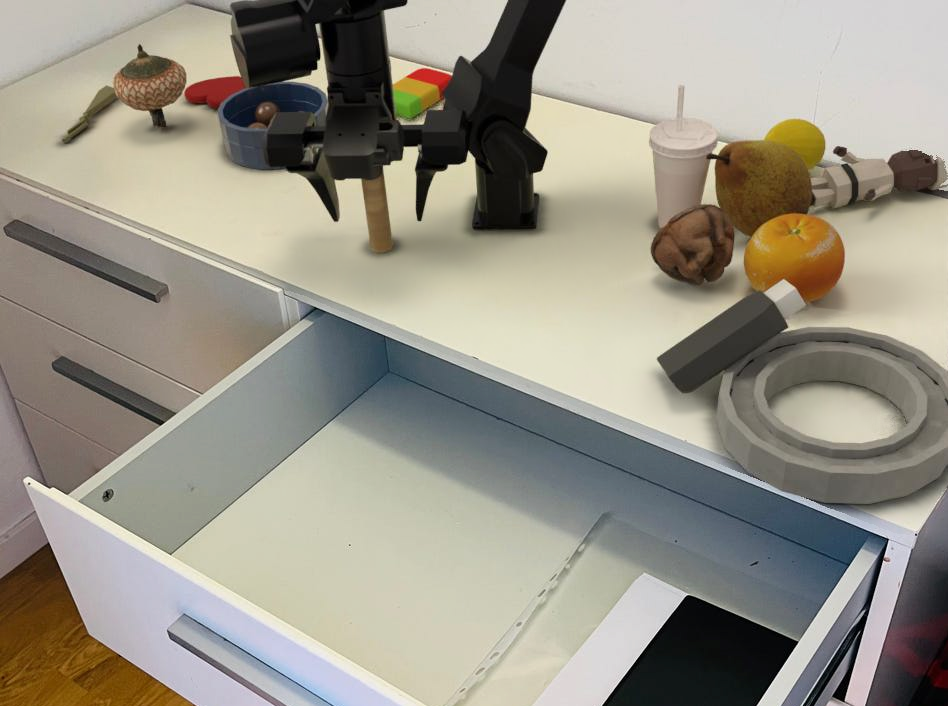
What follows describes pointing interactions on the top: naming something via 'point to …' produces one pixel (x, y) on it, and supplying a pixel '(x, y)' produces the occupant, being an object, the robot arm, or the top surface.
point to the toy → (876, 177)
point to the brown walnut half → (695, 245)
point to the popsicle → (419, 91)
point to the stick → (377, 214)
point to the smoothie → (680, 161)
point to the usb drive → (730, 336)
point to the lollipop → (214, 90)
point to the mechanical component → (823, 462)
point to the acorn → (150, 84)
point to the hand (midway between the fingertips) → (378, 219)
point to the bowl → (241, 114)
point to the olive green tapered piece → (92, 110)
